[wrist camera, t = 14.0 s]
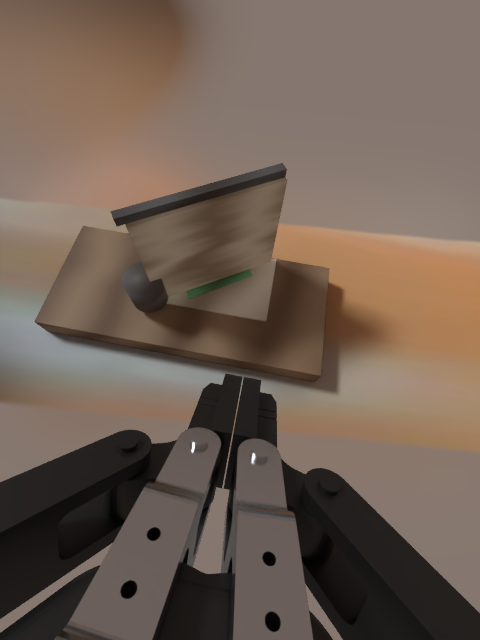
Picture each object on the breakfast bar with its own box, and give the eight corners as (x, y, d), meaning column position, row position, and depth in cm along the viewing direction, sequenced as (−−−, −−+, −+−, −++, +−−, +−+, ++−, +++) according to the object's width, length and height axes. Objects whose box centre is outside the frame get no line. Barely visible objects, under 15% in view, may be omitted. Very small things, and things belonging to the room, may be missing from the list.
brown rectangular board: (47, 330, 28) (31, 319, 26) (91, 239, 32) (81, 223, 30) (314, 381, 27) (322, 374, 25) (323, 279, 31) (330, 265, 29)
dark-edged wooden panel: (137, 317, 26) (91, 242, 17) (128, 288, 27) (79, 203, 18) (274, 269, 28) (295, 182, 19) (260, 244, 29) (274, 151, 20)
